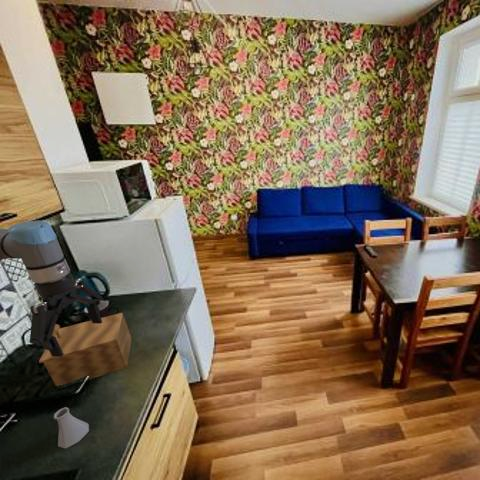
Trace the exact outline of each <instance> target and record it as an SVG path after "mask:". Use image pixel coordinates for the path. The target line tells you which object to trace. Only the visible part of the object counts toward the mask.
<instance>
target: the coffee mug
mask: <svg viewBox="0 0 480 480" xmlns="http://www.w3.org/2000/svg"><path fill="white" fill-rule="evenodd" d="M99 301H100V304H99V305H98V307H99V310H100V312H99V314H100V317H101V318H103V317H107V316H111V315H112V314H111V310H112V309H115V310H116V313H115V314H119V313H120V309H119V308H118V307H116V306H111V307H110V304H109V301H107V300H99ZM83 311H84V313H85V315H86V316H87V318H88V320H89V321H92V320H91V318H90V316H89V313H88V311H87V308H86V307H85V308H84V309H83Z"/></svg>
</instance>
